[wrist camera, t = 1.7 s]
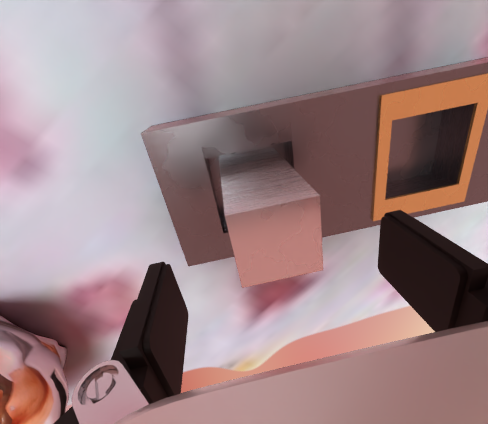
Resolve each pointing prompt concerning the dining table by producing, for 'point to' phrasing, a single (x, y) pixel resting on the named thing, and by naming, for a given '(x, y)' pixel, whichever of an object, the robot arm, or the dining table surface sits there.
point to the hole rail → (336, 152)
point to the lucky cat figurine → (30, 377)
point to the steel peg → (270, 217)
